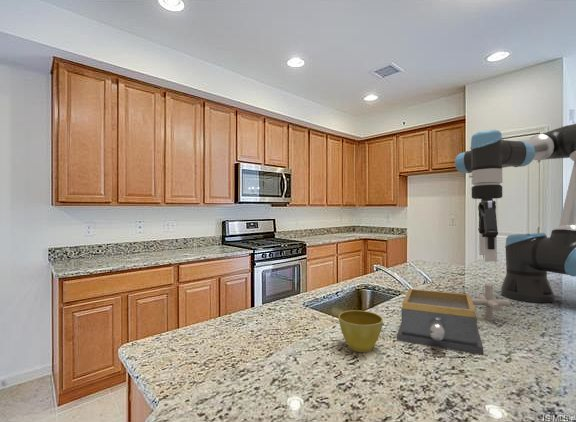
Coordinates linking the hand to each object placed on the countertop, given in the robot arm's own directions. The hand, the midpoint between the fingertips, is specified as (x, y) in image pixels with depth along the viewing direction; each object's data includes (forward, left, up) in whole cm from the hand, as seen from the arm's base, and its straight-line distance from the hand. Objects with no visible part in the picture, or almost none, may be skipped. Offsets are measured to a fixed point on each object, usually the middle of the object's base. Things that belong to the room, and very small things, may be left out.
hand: (487, 258), depth 88 cm
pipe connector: (0, 0, -18) cm, 18 cm away
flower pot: (+29, +34, -18) cm, 48 cm away
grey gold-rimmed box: (+13, +19, -18) cm, 29 cm away
